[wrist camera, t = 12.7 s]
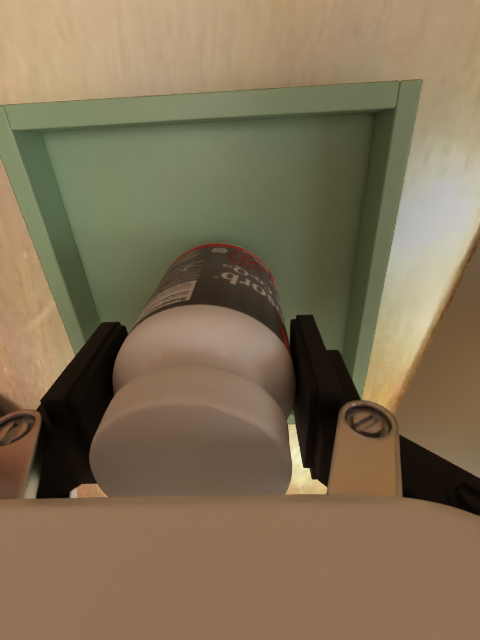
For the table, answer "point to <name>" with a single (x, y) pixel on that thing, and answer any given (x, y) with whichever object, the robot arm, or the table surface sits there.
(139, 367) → the pill bottle
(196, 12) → the table surface
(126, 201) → the tray
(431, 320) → the table surface
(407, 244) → the table surface
